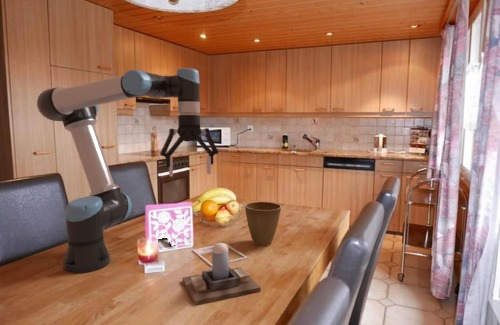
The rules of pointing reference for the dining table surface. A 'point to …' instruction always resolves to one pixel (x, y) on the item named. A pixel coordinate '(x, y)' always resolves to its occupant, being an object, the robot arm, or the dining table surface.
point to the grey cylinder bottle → (220, 262)
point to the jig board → (219, 286)
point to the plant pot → (262, 221)
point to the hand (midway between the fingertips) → (190, 175)
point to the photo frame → (209, 250)
